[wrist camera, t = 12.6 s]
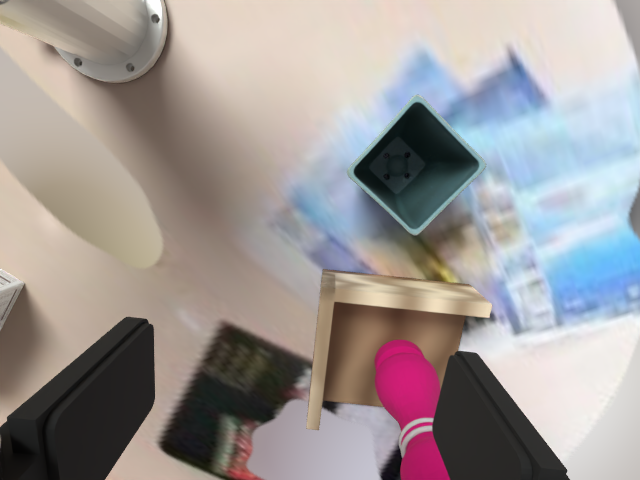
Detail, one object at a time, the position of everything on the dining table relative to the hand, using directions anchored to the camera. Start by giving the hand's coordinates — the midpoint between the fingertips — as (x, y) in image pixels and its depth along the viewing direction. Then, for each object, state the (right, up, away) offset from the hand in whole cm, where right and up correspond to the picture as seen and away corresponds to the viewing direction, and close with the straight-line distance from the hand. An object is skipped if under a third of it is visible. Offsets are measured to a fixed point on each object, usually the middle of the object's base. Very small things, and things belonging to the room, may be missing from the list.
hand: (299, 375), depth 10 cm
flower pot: (+9, +13, +27) cm, 31 cm away
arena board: (+9, -9, +32) cm, 34 cm away
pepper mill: (+11, -11, +32) cm, 35 cm away
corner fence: (+9, -9, +32) cm, 34 cm away
